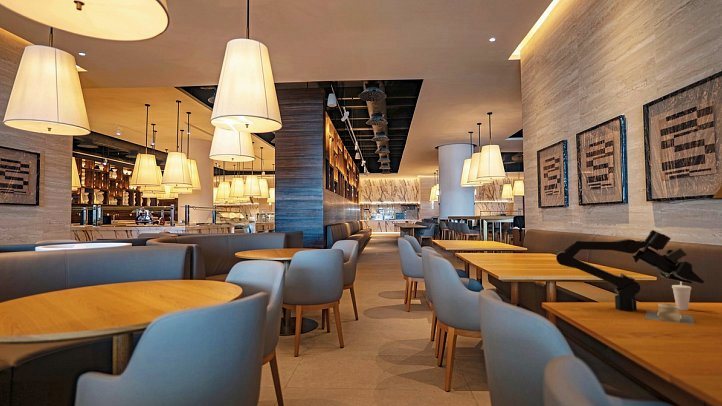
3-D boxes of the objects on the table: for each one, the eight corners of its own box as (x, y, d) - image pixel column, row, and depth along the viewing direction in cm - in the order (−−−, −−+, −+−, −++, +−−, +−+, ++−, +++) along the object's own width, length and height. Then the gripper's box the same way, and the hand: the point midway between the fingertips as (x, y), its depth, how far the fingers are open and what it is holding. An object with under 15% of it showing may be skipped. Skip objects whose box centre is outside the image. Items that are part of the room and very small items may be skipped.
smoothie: (690, 308, 158) (689, 275, 158) (694, 311, 152) (692, 277, 153) (671, 306, 161) (669, 274, 162) (674, 309, 156) (672, 276, 156)
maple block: (658, 319, 139) (658, 305, 139) (659, 315, 143) (658, 302, 144) (679, 322, 135) (679, 308, 135) (679, 318, 140) (678, 305, 140)
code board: (645, 320, 140) (645, 318, 140) (647, 312, 152) (646, 310, 152) (694, 327, 131) (694, 324, 131) (692, 318, 143) (692, 316, 143)
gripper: (676, 240, 141) (722, 264, 135) (657, 245, 158) (697, 266, 152) (659, 264, 142) (705, 289, 135) (642, 266, 159) (682, 288, 153)
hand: (697, 282), depth 144 cm, fingers open, 9 cm apart
